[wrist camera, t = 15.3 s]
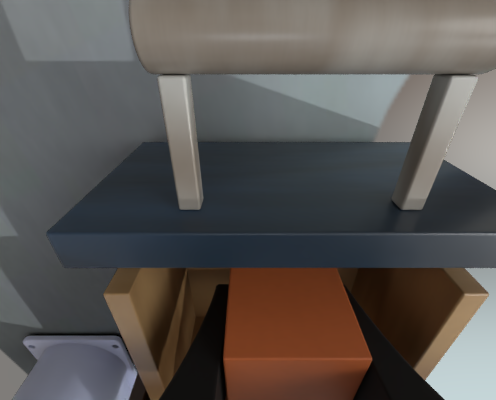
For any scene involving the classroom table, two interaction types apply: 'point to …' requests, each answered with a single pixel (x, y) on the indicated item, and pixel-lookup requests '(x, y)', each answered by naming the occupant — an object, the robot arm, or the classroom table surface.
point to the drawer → (294, 178)
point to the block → (291, 336)
